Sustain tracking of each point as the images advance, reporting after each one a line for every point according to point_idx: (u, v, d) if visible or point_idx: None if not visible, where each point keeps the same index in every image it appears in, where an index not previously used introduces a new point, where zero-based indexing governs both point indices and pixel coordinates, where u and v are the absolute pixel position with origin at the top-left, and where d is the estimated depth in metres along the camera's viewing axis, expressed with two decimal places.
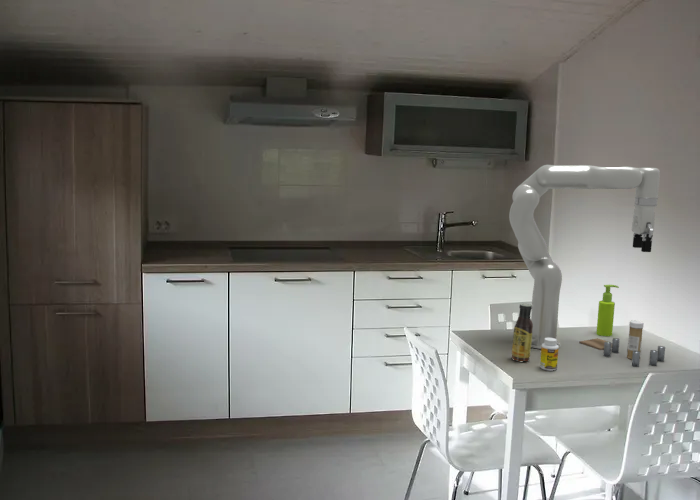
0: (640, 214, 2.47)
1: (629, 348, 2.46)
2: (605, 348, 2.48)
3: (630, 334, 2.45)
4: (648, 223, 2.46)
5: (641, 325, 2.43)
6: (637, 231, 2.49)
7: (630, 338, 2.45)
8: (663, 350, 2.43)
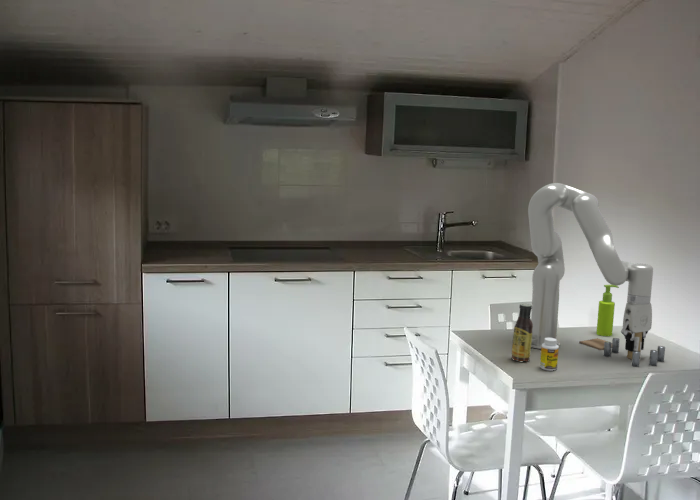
0: (650, 311, 2.44)
1: None
2: (605, 348, 2.48)
3: (630, 334, 2.45)
4: None
5: None
6: (647, 328, 2.44)
7: None
8: (663, 350, 2.43)
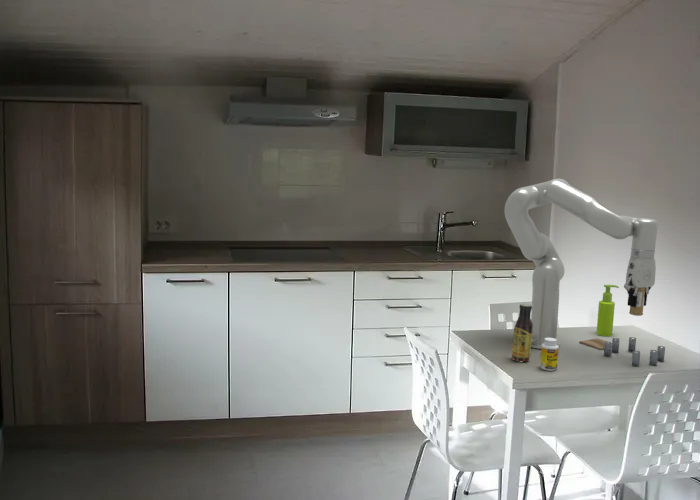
0: (654, 266, 2.41)
1: None
2: (605, 348, 2.48)
3: (633, 289, 2.43)
4: None
5: None
6: (650, 284, 2.42)
7: None
8: (663, 350, 2.43)
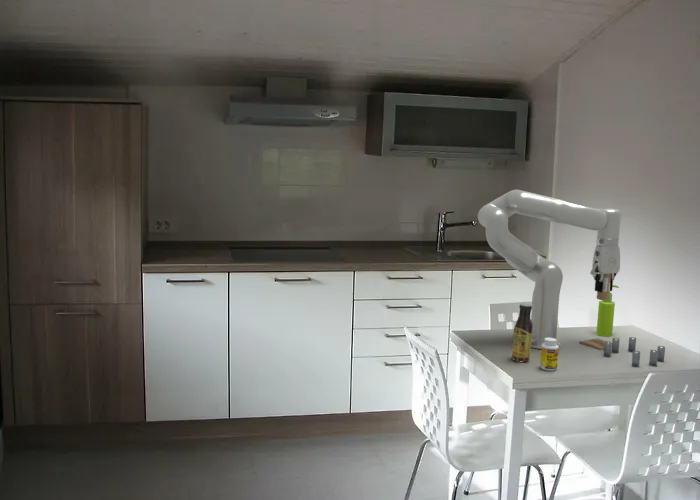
0: (618, 253, 2.57)
1: None
2: (605, 348, 2.48)
3: (599, 275, 2.58)
4: None
5: None
6: (615, 270, 2.57)
7: None
8: (663, 350, 2.43)
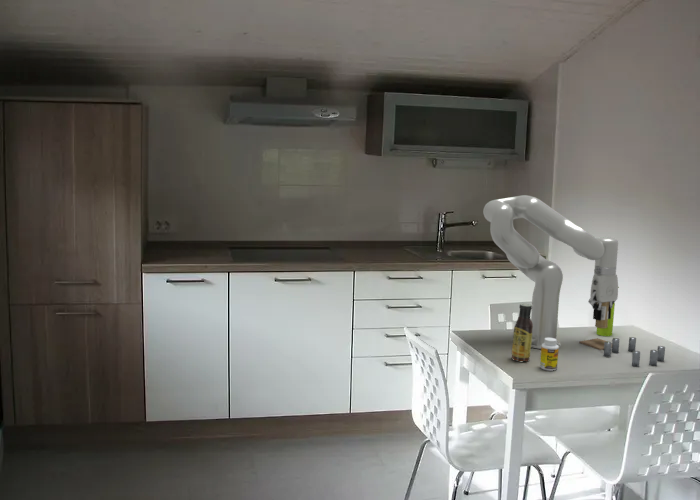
0: (616, 282, 2.58)
1: None
2: (605, 348, 2.48)
3: (597, 304, 2.60)
4: None
5: None
6: (613, 298, 2.59)
7: None
8: (663, 350, 2.43)
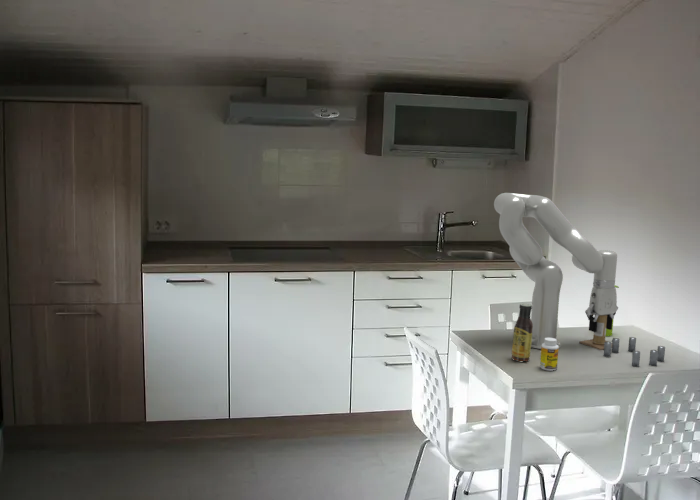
0: (615, 295, 2.59)
1: (594, 333, 2.61)
2: (605, 348, 2.48)
3: None
4: None
5: None
6: (612, 311, 2.59)
7: None
8: (663, 350, 2.43)
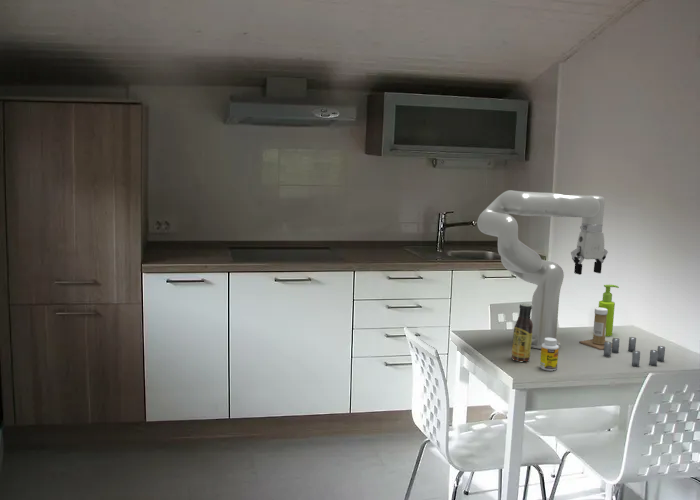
0: (602, 240, 2.62)
1: (594, 333, 2.61)
2: (605, 348, 2.48)
3: (595, 320, 2.61)
4: None
5: (605, 312, 2.59)
6: (599, 256, 2.63)
7: (595, 324, 2.61)
8: (663, 350, 2.43)
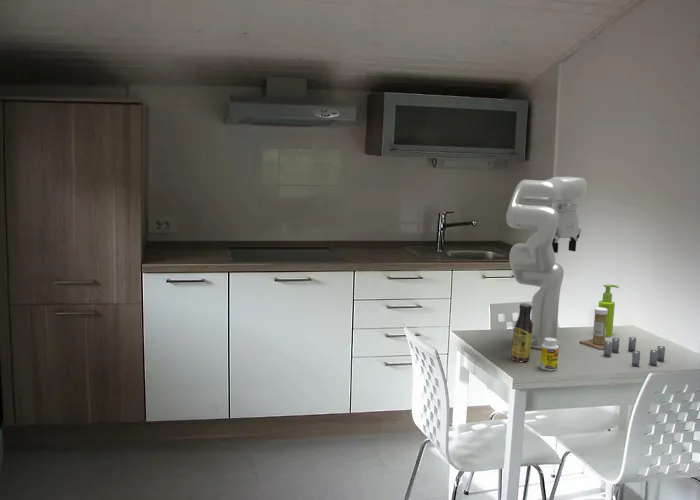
0: (577, 219, 2.73)
1: (594, 333, 2.61)
2: (605, 348, 2.48)
3: (595, 320, 2.61)
4: None
5: (605, 312, 2.59)
6: (574, 235, 2.73)
7: (595, 324, 2.61)
8: (663, 350, 2.43)
